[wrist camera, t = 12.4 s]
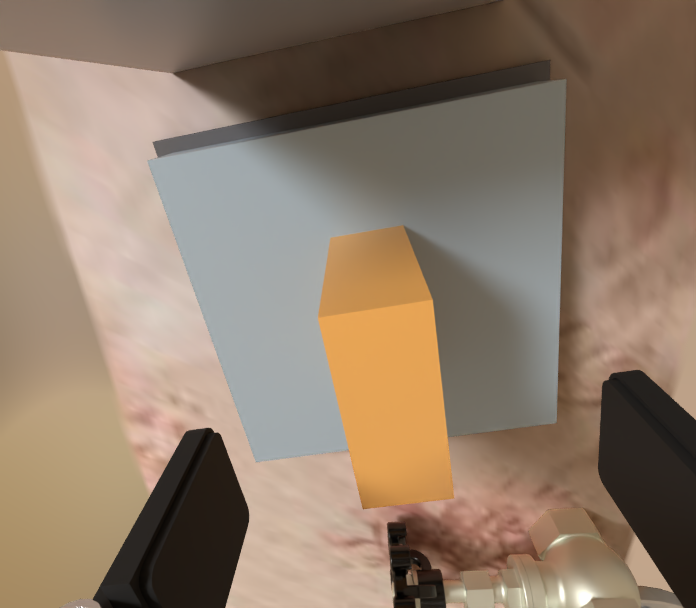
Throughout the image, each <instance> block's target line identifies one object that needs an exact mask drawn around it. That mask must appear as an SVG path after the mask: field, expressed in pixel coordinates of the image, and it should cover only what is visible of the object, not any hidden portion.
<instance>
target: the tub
mask: <svg viewBox="0 0 696 608" xmlns="http://www.w3.org/2000/svg"><path fill="white" fill-rule="evenodd" d="M497 1H501V0H0V50H3V51H11V52H18V53H25V54H33V55H40V56H48V57H55V58H63V59H70V60H77V61H85V62H92V63H100V64H107V65H114V66H122V67H129V68H137V69H144V70H151V71H159V72H166V73H174V72H179V71H183V70H188V69H192V68H197V67H201V66H206V65H211V64H215V63H220V62H224V61H229V60H233V59H238V58H242V57H247V56H251V55H256V54H261V53H265V52H270V51H274V50H279V49H283V48H288V47H292V46H297V45H301V44H306V43H310V42H315V41H320V40H324V39H329V38H333V37H338V36H342V35H347V34H351V33H356V32H360V31H365V30H370V29H374V28H379V27H383V26H388V25H392V24H397V23H401V22H406V21H410V20H415V19H419V18H424V17H429V16H433V15H438V14H442V13H447V12H451V11H456V10H460V9H465V8H469V7H474V6H479V5H483V4H488V3H492V2H497Z"/></svg>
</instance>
